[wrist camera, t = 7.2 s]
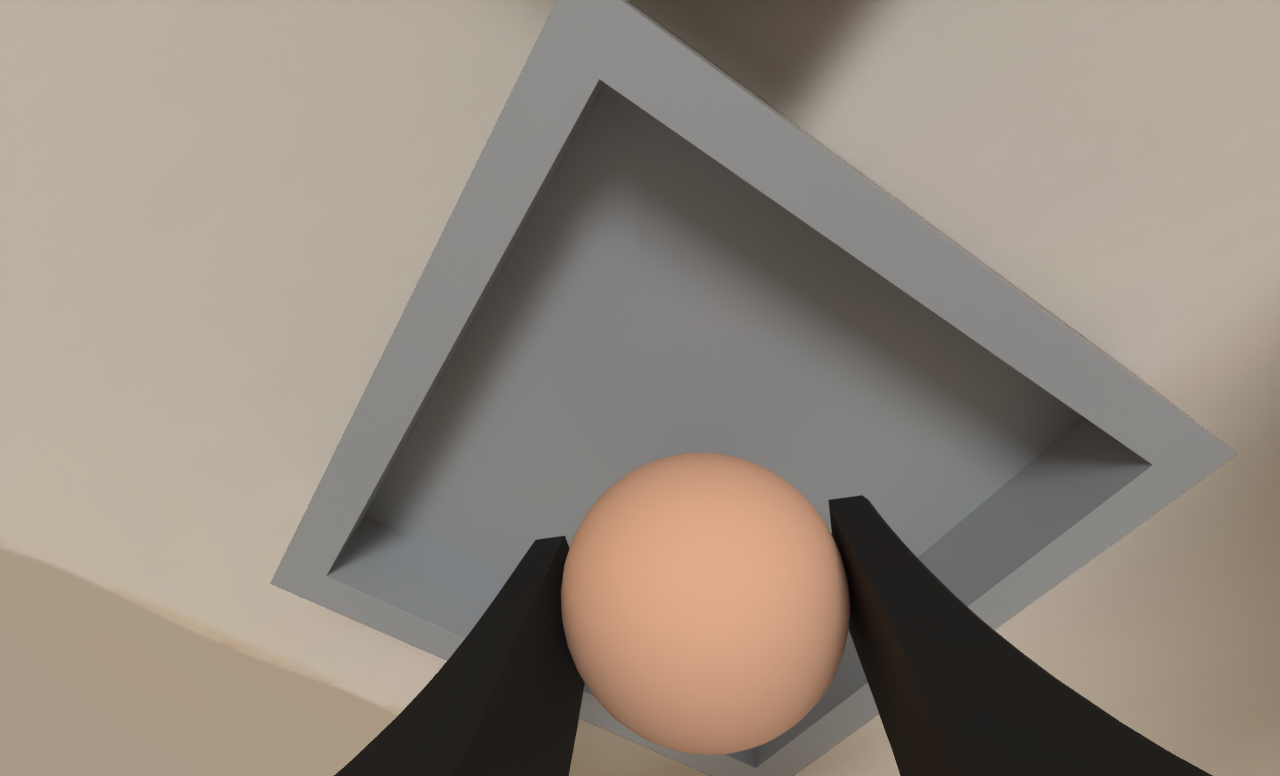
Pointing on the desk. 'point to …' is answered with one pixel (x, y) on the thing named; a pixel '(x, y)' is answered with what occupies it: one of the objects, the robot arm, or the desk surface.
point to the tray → (715, 367)
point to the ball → (705, 603)
